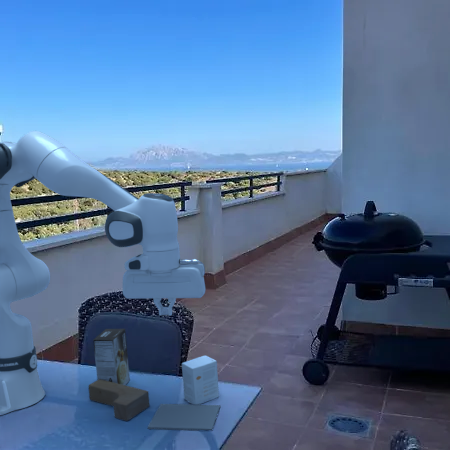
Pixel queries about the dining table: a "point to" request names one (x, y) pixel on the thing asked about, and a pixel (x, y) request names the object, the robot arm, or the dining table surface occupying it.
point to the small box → (200, 380)
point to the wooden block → (119, 398)
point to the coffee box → (112, 356)
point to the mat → (184, 417)
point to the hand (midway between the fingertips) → (165, 315)
